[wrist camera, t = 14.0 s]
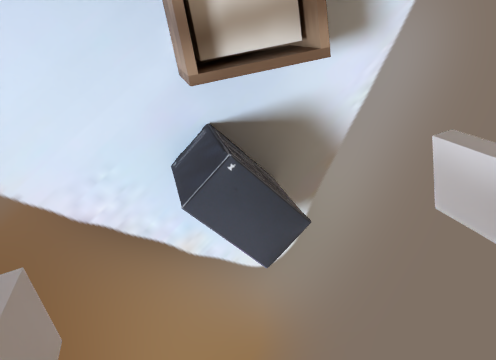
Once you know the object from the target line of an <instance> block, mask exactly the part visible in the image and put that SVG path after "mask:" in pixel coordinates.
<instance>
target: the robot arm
mask: <svg viewBox="0 0 496 360" xmlns="http://www.w3.org/2000/svg"><path fill="white" fill-rule="evenodd" d="M432 139H433V162H434V163H433V164H434V187H435V188H434V189H435V208H436V209H438V210H439V211H441V212H443V213H445V214H446V215H448V216H450V217H451V218H453V219H455V220H457V221H458V222H460V223H462V224H463V225H465V226H467V227H468V228H470V229H472V230H474V231H475V232H477V233H479V234H481V235H482V236H484V237H486V238H487V239H489V240H491V241H492V242H494V243H496V143H495V142H492V141H488V140H485V139H482V138H479V137H476V136H472V135H469V134H465V133H463V132H460V131H456V130H453V129H452V130H448V131H445V132H443V133H439V134H436V135H433V136H432ZM61 343H62V339H61V338H60V336H59V334H58V332H57V330H56V328H55V326H54V325H53V323H52V321H51V319H50V317H49V315H48V313H47V311H46V310H45V308H44V306H43V304H42V302H41V300H40V299H39V297H38V295H37V293H36V291H35V289H34V287H33V285H32V283H31V281H30V280H29V278H28V276H27V274H26V272H25V270H24V269H23V268H20V269H17V270H14V271H11V272H8V273H4V274H1V275H0V360H58V357H59V352H60V348H61Z"/></svg>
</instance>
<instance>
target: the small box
mask: <svg viewBox="0 0 496 360" xmlns="http://www.w3.org/2000/svg"><path fill="white" fill-rule="evenodd" d="M171 168H172V171H173V175H174V178H175V182H176V186H177V190H178V194H179V198H180V201H181V206H182V209H183V210H185V211H186V212H187V213H189V214H190V215H192V216H193V217H195V218H196V219H197V220H199V221H200V222H202V223H203V224H205V225H206V226H207V227H209V228H210V229H212V230H213V231H215V232H216V233H217V234H219V235H220V236H222V237H223V238H225V239H226V240H227V241H229V242H230V243H232V244H233V245H234V246H236V247H237V248H239V249H240V250H242V251H243V252H244V253H246V254H247V255H249V256H250V257H251V258H253V259H254V260H255V261H257V262H258V263H260V264H261V265H262V266H264V267H265V268H268V267H269V266H270V265H271V264H272V263H273V262H274V261H275V260H276V259H277V258H278V257H279V256H280V255H281V254H282V253H283V252H284V251H285V250H286V249H287V248H288V247H289V246H290V244H291V243H292V242H293V241H294V240H295V239H296V238H297V237H298V236H299V235H300V234H301V233H302V232H303V231H304V229H305V228H306V227H307V226H308V225H309V224H310V223H311V220H310V219H309V218H308V217H307V216H306V215H305V214H304V213H303V212H302V211H301V210H300V209H299V208H298V207H297V206H296V205H295V203H294V202H293V201H292V200H291V199H290V198H289V197H288V195H287V194H286V193H285V192H284V191H283V189H282V188H281V187H280V186H279V184H278V183H277V182H276V180H275V179H273V178H272V177H271V176H270V175H269V174H268V173H267V172H265V171H264V170H263V169H262V168H261V167H259V166H258V165H257V164H256V163H255V162H254V161H253V160H251V159H250V158H249V157H248V156H247V155H246V154H245V153H243V152H242V151H241V150H240V149H239V148H238V147H237V146H235V144H233V143H232V142H231V141H230V140H229V139H227V138H226V137H225V136H224V135H222V134H221V133H220V132H219V131H218V130H216V129H215V128H214V127H213V126H212V125H211V124H206V125H205V126H204V127H203V129H202V131H201V132H200V133H199V134H198V135H197V137H196V138H195V139H194V140H193V141H192V142H191V144H190V145H189V146H188V147H187V148H186V149H185V150H184V151H183V152H182V153H181V154H180V155H179V156H178V158H177V159H176V160H175V162H174V163H173V164H172V166H171Z"/></svg>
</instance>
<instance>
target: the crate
mask: <svg viewBox="0 0 496 360" xmlns="http://www.w3.org/2000/svg"><path fill="white" fill-rule="evenodd" d="M163 5H164V9H165V14H166V18H167V22H168V27H169V31H170V36H171V40H172V44H173V49H174V53H175V58H176V62H177V66H178V71H179V75H180V76H181V77H182V78H183V79H184V80H185V81H186V82H187V83H188V84H189V85H190V86H195V85H199V84H204V83H209V82H214V81H218V80H223V79H228V78H232V77H237V76H242V75H247V74H251V73H256V72H261V71H266V70H270V69H275V68H280V67H285V66H289V65H294V64H299V63H303V62H308V61H313V60H318V59H322V58H327V57H331V55H330V43H329V30H328V18H327V6H326V0H163Z"/></svg>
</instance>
